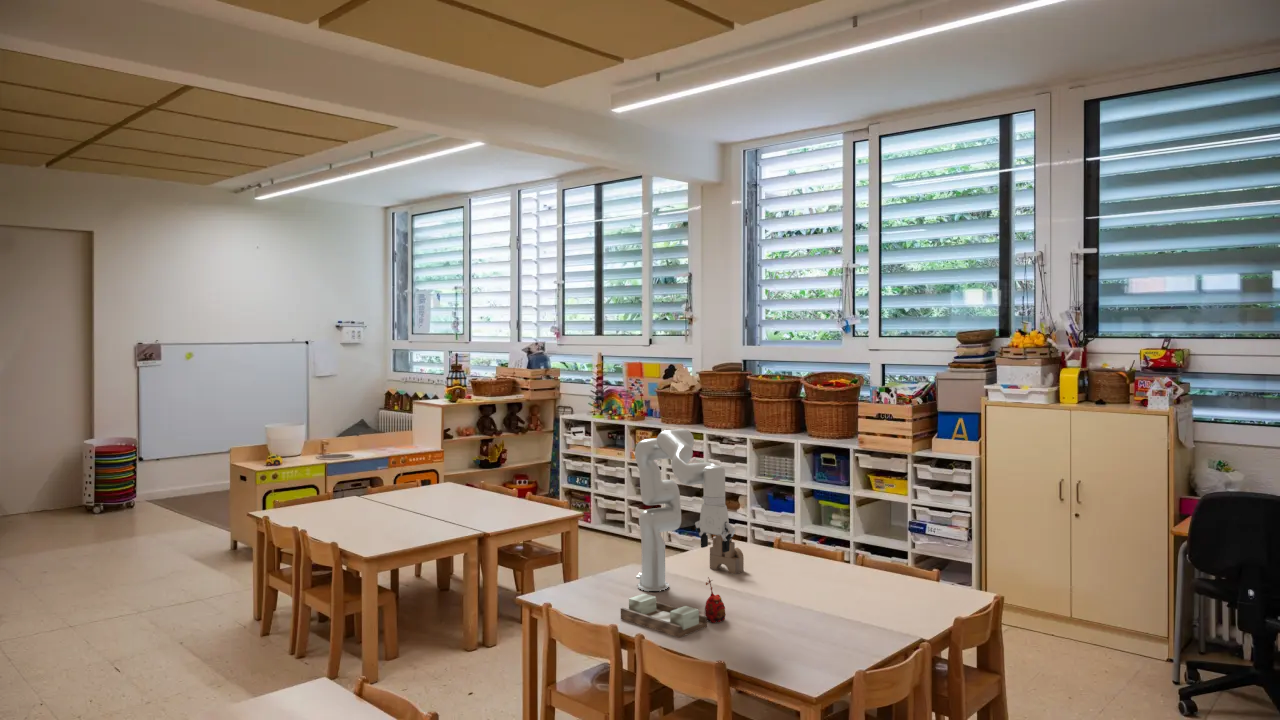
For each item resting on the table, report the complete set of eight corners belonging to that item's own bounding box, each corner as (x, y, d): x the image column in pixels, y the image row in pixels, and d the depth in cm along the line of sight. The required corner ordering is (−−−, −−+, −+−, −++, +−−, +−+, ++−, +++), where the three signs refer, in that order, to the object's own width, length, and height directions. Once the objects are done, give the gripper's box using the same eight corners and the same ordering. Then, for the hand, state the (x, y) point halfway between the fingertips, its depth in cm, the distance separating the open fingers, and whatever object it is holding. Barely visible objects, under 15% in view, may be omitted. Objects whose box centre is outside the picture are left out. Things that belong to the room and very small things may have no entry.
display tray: (620, 618, 289) (620, 599, 289) (648, 608, 300) (648, 590, 300) (679, 637, 270) (679, 618, 270) (707, 626, 280) (706, 607, 280)
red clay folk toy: (716, 625, 281) (716, 582, 281) (700, 621, 286) (700, 578, 286) (729, 619, 287) (729, 577, 287) (713, 615, 292) (713, 574, 291)
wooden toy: (744, 571, 348) (744, 513, 347) (735, 574, 343) (735, 515, 342) (715, 564, 358) (715, 508, 357) (706, 567, 353) (706, 510, 352)
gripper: (689, 499, 289) (689, 547, 289) (727, 505, 277) (727, 555, 277) (702, 496, 294) (702, 543, 294) (740, 502, 282) (741, 551, 282)
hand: (715, 549), depth 286 cm, fingers open, 9 cm apart
